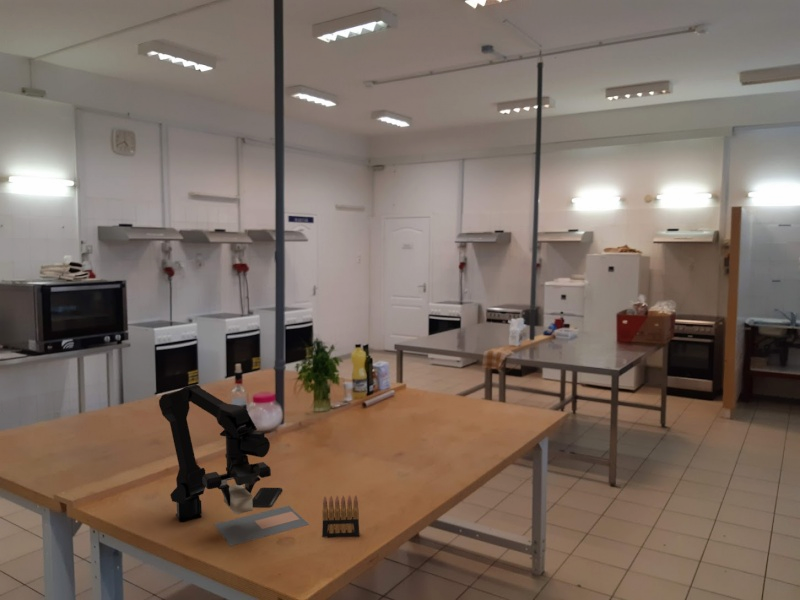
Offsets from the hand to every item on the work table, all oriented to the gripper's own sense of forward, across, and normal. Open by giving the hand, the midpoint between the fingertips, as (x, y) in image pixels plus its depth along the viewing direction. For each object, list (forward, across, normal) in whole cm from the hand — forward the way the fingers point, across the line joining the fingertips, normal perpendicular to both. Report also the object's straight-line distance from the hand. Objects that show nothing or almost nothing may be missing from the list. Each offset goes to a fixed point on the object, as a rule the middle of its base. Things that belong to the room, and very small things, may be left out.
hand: (238, 503), depth 178 cm
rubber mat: (+8, +7, 0) cm, 11 cm away
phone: (+9, +15, +18) cm, 25 cm away
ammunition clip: (+9, +24, -19) cm, 32 cm away
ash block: (+1, 0, 0) cm, 1 cm away
